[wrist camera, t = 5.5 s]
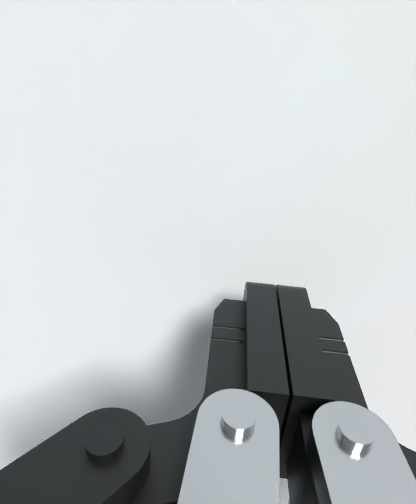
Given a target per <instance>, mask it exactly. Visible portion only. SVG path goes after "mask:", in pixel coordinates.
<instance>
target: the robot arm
mask: <svg viewBox="0 0 416 504" xmlns="http://www.w3.org/2000/svg"><path fill="white" fill-rule="evenodd" d="M343 340H344V339H343V336H342V333H341V330H340V327H339V325H338V323H337V322H336V321H335V320H334V319H333V318H332V316H331V315H330V314H329V313H328V312H327V311H326V310H324V309H315V308H311V305H310V302H309V298H308V294H307V290H306V288H302V287H292V286H283V285H276V286H275V285H272V284H263V283H253V282H246V285H245V291H244V298H243V301H239V300H230V299H224V300H223V301H222V302H221V303H220V305H219V306H218V307H217V308H216V309H215V311H214V319H213V328H212V336H211V344H210V353H209V361H208V370H207V378H206V386H205V392H204V396H203V398H202V400H201V402H200V403H199V405H198V406H197V407H196V408H195V409H194V410H193V411H191V412H190V413H189V414H187V415H186V416H184V417H182V418H179V419H177V420H174V421H170V422H165V423H160V424H154V425H149V426H146V424H145V423H144V421H143V420H142V419H141V418H140V417H139V416H137V415H136V414H135V413H133V412H131V411H128V410H125V409H121V408H103V409H99V410H95V411H93V412H90V413H88V414H86V415H84V416H82V417H81V418H79V419H78V420H76V421H75V422H73V423H71V424H70V425H68V426H67V427H65V428H64V429H62V430H61V431H59V432H58V433H56V434H55V435H53V436H52V437H50V438H49V439H47V440H45V441H44V442H42V443H41V444H39V445H38V446H36V447H35V448H33V449H32V450H30V451H29V452H27V453H26V454H24V455H23V456H21V457H19V458H18V459H16V460H15V461H13V462H12V463H10V464H9V465H7V466H6V467H4V468H3V469H1V470H0V504H280V478H286V479H288V488H289V502H288V504H416V452H415V451H412V450H410V449H408V448H406V447H404V446H403V445H401V444H399V443H398V442H397V440H396V437H395V436H394V434H393V432H392V431H391V429H390V428H389V427H388V425H387V424H386V423H385V422H384V421H383V420H382V419H381V418H380V417H378V416H377V415H376V414H374V413H373V412H371V411H370V410H368V407H367V404H366V402H365V399H364V396H363V393H362V390H361V387H360V384H359V382H358V379H357V376H356V373H355V370H354V367H353V365H352V362H351V359H350V356H348V350H347V347H346V345H345V342H343Z"/></svg>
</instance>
